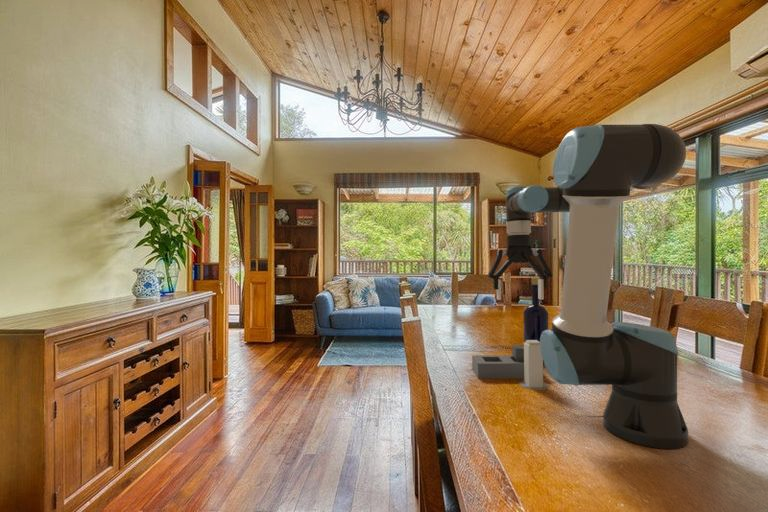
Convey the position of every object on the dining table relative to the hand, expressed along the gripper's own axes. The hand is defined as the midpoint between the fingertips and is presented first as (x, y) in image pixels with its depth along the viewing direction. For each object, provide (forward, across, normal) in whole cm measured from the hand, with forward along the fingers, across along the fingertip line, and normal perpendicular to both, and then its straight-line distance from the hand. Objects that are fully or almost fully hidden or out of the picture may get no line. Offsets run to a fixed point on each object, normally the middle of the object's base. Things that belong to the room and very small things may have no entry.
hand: (519, 299), depth 120 cm
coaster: (+24, 0, +12) cm, 27 cm away
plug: (+24, 0, +12) cm, 27 cm away
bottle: (+24, -10, -13) cm, 29 cm away
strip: (+24, +5, +2) cm, 25 cm away
